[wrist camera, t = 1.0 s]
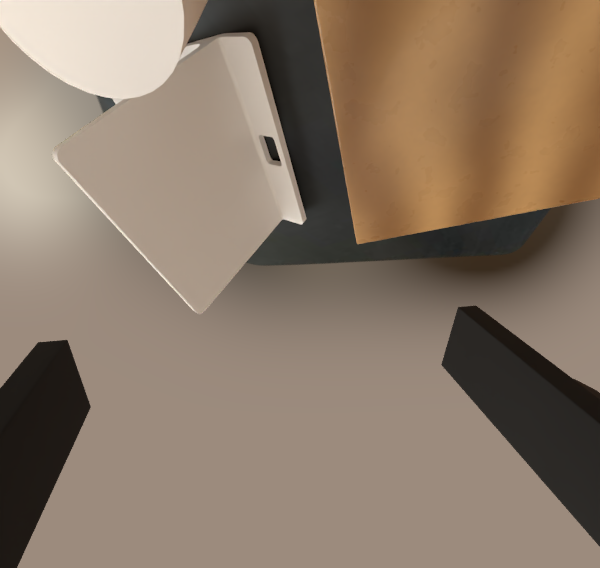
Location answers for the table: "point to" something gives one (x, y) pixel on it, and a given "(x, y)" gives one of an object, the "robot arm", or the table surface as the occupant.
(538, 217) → the table surface
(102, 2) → the cylindrical container
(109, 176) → the tablet stand
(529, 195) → the cupboard
